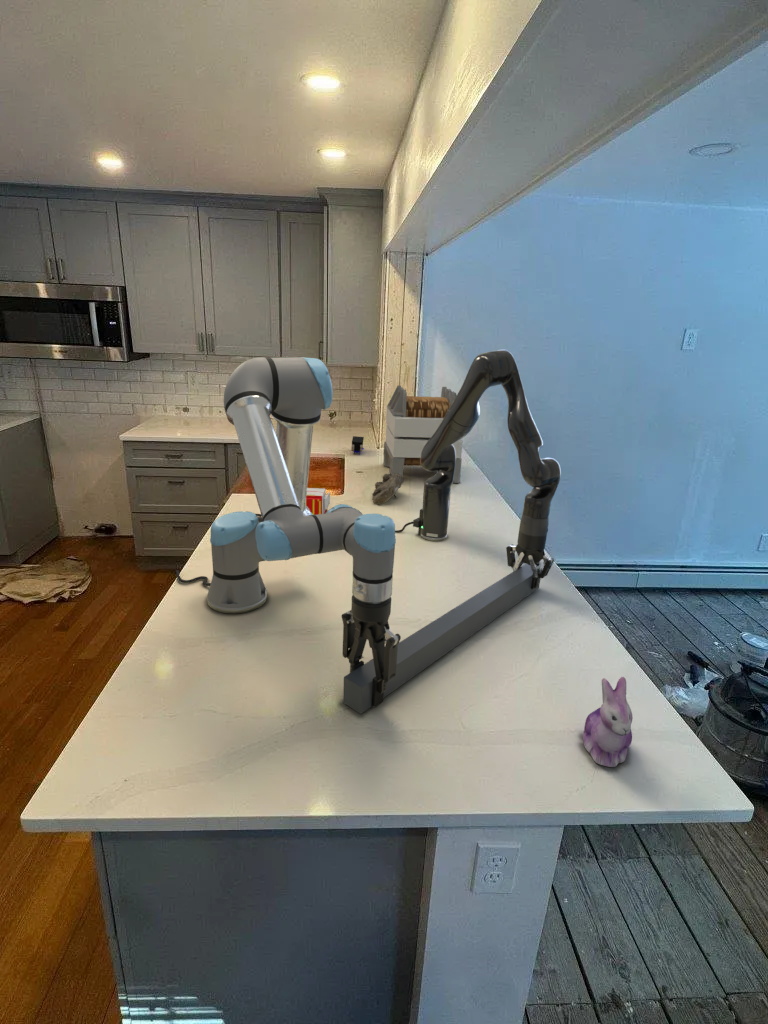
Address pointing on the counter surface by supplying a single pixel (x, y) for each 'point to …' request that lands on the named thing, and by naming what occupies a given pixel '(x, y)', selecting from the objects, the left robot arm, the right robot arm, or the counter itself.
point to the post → (440, 636)
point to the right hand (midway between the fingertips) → (524, 584)
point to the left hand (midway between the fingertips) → (367, 696)
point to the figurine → (609, 726)
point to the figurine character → (357, 444)
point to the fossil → (387, 487)
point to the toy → (317, 500)
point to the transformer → (415, 428)
